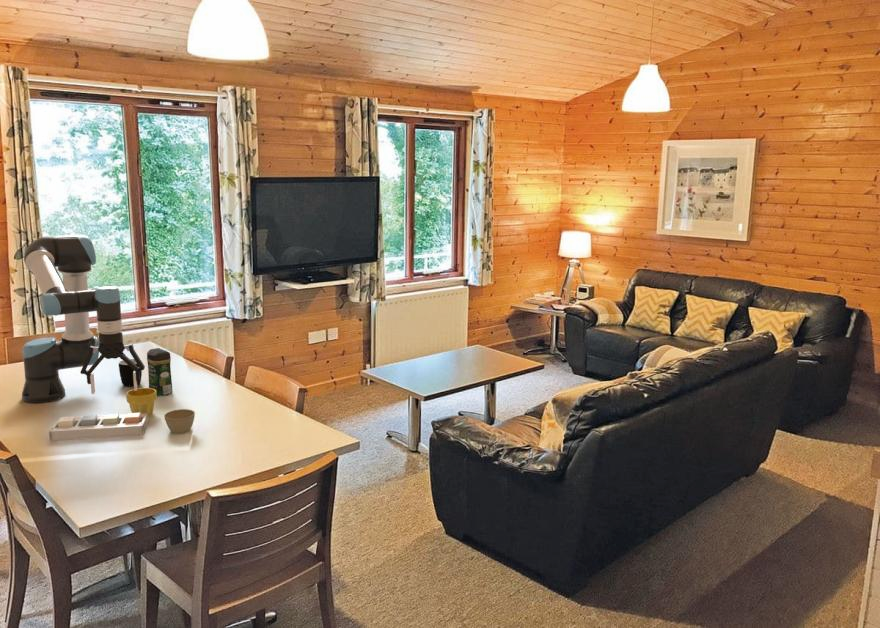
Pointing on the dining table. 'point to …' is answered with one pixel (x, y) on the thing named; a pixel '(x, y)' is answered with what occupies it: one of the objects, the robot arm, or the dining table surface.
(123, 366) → the mug
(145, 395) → the plant pot
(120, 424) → the keypad
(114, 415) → the key sage
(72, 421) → the key cream
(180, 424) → the flower pot
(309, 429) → the dining table surface
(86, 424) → the key slate
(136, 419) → the key terracotta
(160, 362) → the coffee jar
